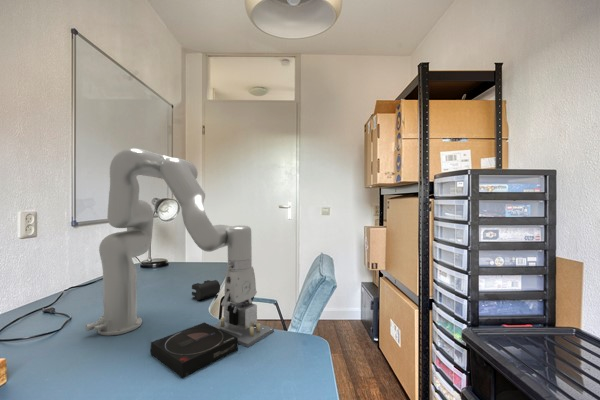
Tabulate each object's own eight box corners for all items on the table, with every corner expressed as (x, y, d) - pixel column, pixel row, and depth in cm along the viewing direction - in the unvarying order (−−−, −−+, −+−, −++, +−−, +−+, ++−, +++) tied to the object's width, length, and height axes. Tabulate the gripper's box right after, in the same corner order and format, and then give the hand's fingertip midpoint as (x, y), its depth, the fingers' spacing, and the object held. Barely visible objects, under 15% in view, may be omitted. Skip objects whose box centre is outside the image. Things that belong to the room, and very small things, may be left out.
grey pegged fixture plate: (247, 347, 83) (247, 335, 83) (206, 332, 93) (206, 321, 93) (273, 331, 93) (273, 320, 93) (233, 319, 103) (233, 309, 103)
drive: (245, 329, 88) (245, 309, 88) (223, 321, 94) (223, 302, 94) (257, 323, 92) (256, 304, 92) (235, 316, 98) (235, 298, 98)
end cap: (201, 302, 120) (201, 286, 120) (190, 299, 124) (190, 283, 124) (220, 296, 128) (220, 280, 128) (210, 293, 132) (210, 278, 132)
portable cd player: (203, 334, 93) (203, 321, 93) (237, 351, 82) (237, 337, 82) (150, 356, 80) (150, 341, 80) (182, 380, 69) (182, 363, 69)
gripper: (228, 271, 84) (228, 334, 84) (265, 260, 98) (266, 314, 98) (210, 268, 88) (211, 328, 88) (249, 258, 102) (249, 310, 102)
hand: (240, 320), depth 93 cm, fingers closed on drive, 5 cm apart
